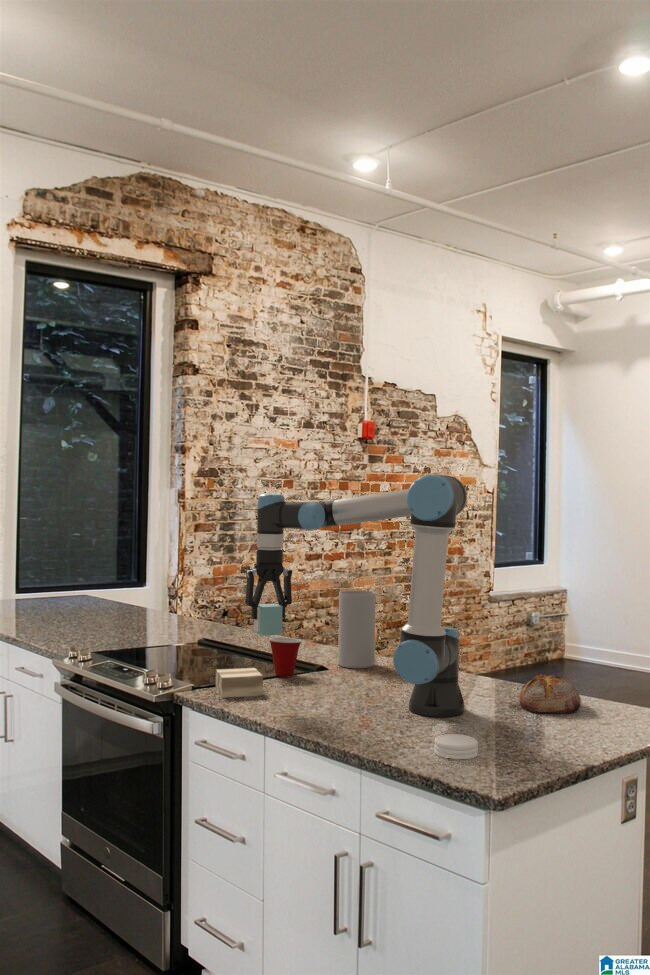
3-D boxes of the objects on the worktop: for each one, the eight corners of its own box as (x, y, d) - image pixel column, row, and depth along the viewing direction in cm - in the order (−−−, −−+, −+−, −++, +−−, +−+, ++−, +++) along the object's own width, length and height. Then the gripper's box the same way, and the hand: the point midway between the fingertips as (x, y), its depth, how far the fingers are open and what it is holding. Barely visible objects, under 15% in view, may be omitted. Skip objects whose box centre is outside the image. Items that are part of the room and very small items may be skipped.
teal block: (281, 634, 247) (282, 606, 247) (262, 635, 245) (262, 607, 245) (273, 631, 253) (274, 603, 253) (254, 632, 250) (254, 604, 250)
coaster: (438, 746, 208) (438, 731, 208) (480, 750, 205) (480, 735, 205) (430, 758, 199) (430, 743, 199) (475, 763, 196) (475, 747, 196)
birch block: (262, 696, 256) (263, 675, 256) (221, 698, 253) (222, 677, 253) (254, 687, 268) (255, 667, 268) (215, 689, 264) (215, 669, 264)
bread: (508, 713, 244) (507, 677, 244) (537, 700, 260) (535, 666, 260) (565, 719, 234) (563, 682, 234) (591, 705, 250) (589, 670, 250)
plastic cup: (308, 675, 285) (309, 638, 285) (285, 680, 277) (285, 642, 277) (284, 670, 292) (285, 634, 292) (261, 675, 284) (261, 638, 284)
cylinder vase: (366, 661, 310) (367, 590, 310) (379, 668, 298) (380, 594, 298) (333, 662, 306) (334, 591, 306) (345, 669, 294) (346, 595, 294)
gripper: (294, 547, 256) (292, 626, 256) (233, 548, 248) (231, 629, 248) (305, 549, 250) (303, 630, 250) (243, 550, 241) (241, 634, 241)
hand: (268, 630), depth 249 cm, fingers closed on teal block, 6 cm apart
